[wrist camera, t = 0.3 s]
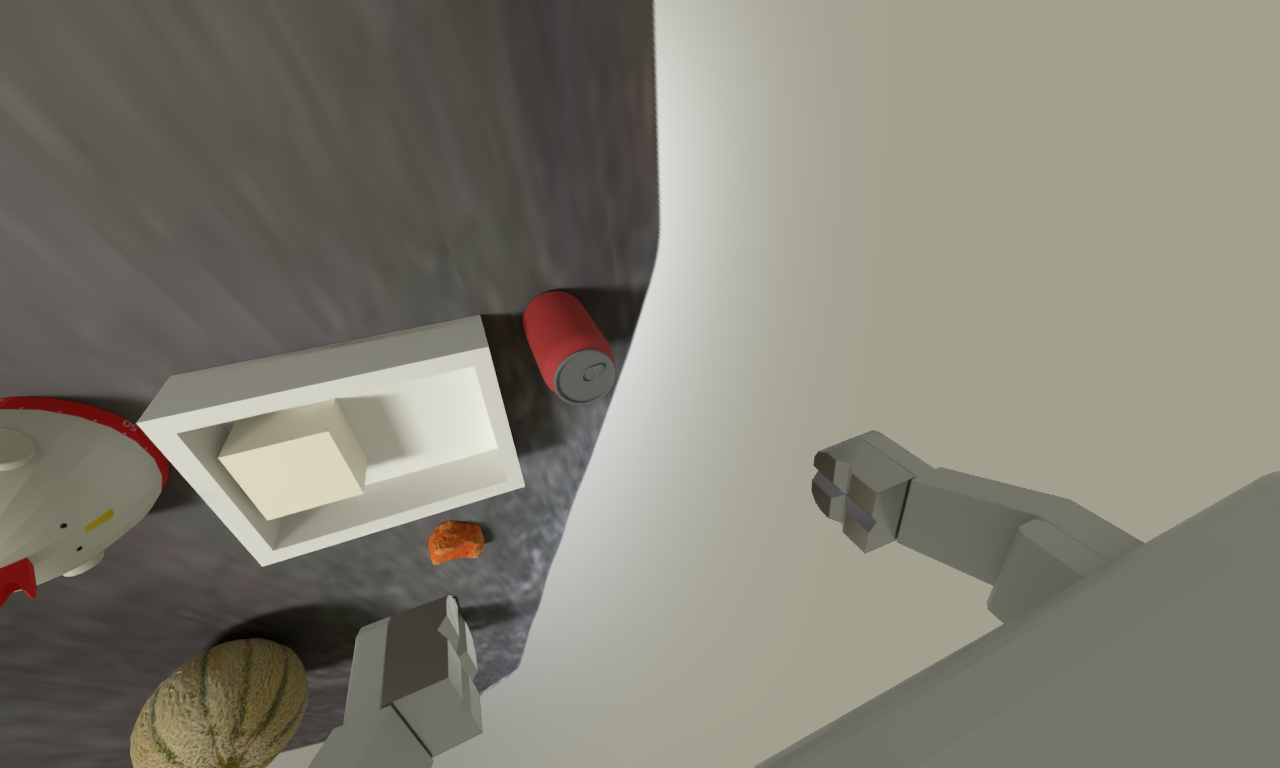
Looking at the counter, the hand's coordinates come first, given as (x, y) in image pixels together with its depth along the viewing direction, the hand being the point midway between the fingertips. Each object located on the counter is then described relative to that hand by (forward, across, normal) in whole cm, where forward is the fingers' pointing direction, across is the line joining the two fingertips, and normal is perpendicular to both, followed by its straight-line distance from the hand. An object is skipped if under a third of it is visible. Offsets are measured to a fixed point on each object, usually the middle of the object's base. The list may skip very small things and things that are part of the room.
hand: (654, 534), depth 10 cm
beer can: (+40, -4, +10) cm, 42 cm away
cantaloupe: (+44, +41, +44) cm, 75 cm away
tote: (+41, +16, +17) cm, 47 cm away
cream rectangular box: (+40, +22, +16) cm, 48 cm away
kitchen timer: (+41, +39, +12) cm, 58 cm away
